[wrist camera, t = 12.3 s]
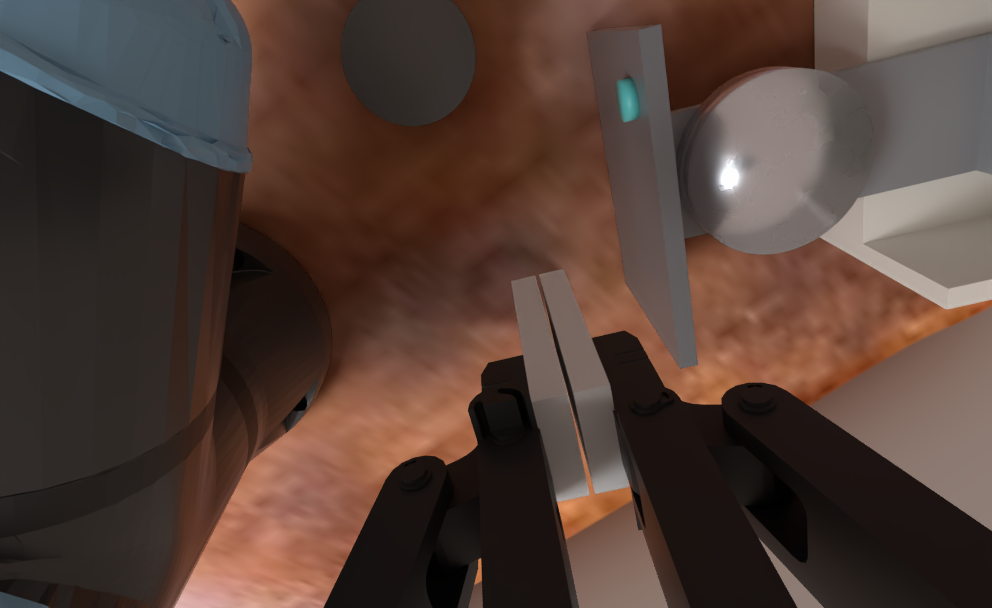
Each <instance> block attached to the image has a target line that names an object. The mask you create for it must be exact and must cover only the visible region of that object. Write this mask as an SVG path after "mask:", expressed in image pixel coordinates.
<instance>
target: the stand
mask: <svg viewBox="0 0 992 608" xmlns="http://www.w3.org/2000/svg"><path fill="white" fill-rule="evenodd" d="M341 59H342V66H343V69H344V73H345V76H346V79H347V81H348V83H349V85H350V87H351V89H352V91H353V92H354V94H355V95H356V97H357V98H358V99H359V100H360V102H361V103H362V104H363V105H364V106H365V107H366V108H367V109H369V110H370V111H371V112H372V113H374V114H375V115H377V116H378V117H380V118H382V119H384V120H386V121H388V122H391V123H394V124H398V125H403V126H421V125H427V124H430V123H433V122H436V121H438V120H440V119H442V118H444V117H445V116H447V115H448V114H450V113H451V112H452V111H453V110H454V109H455V108H456V107H457V106H458V105H459V104H460V103H461V102H462V100H463V99H464V97H465V95H466V94H467V92H468V90H469V88H470V86H471V83H472V80H473V76H474V71H475V63H476V52H475V44H474V39H473V36H472V32H471V29H470V27H469V25H468V22H467V20H466V19H465V17H464V15H463V14H462V12H461V11H460V10H459V8H458V7H457V6H456V5H455V4H454V3H453V2H452V1H451V0H359V1H358V2H357V4H356V5H355V6H354V8H353V9H352V10H351V12H350V14H349V16H348V18H347V20H346V23H345V25H344V29H343V33H342V39H341Z"/></svg>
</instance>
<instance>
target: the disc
mask: <svg viewBox="0 0 992 608" xmlns="http://www.w3.org/2000/svg"><path fill="white" fill-rule="evenodd" d="M874 146H875V142H874V129H873V123H872V120H871V117H870V114H869V111H868V109H867V107H866V105H865V103H864V101H863V100H862V98H861V97H860V96H859V94H858V93H857V92H856V91H855V90H854V89H853V88H852V87H851V86H850V85H849V84H848V83H846V82H845V81H843V80H842V79H840V78H839V77H837V76H835V75H832V74H830V73H828V72H824V71H820V70H816V69H807V68H797V67H786V66H768V67H763V68H757V69H754V70H751V71H748V72H744V73H742V74H740V75H738V76H736V77H734V78H732V79H730V80H729V81H727V82H725V83H724V84H722V85H721V86H720V87H718V88H717V89H716V90H715V91H713V92H712V93H711V94H710V95H709V96H708V97H707V98H706V99H705V100H704V101H703V102H702V103H701V105H700V106H699V107H698V109H697V110H696V111H695V112H694V114H693V116H692V117H691V119H690V120H689V122H688V124H687V126H686V128H685V130H684V132H683V134H682V137H681V140H680V143H679V146H678V151H677V155H676V167H677V176H678V186H679V195H680V199H681V201H682V203H683V205H684V207H685V209H686V211H687V212H688V213H689V215H690V216H691V217H692V219H693V220H694V221H695V222H696V223H697V224H698V225H700V226H701V227H702V228H703V229H705V230H706V231H707V232H708V233H709V234H711V235H712V236H713V237H714V238H716V239H717V240H718V241H720V242H721V243H723V244H724V245H726V246H728V247H730V248H732V249H735V250H738V251H741V252H745V253H750V254H760V255H764V254H776V253H782V252H786V251H790V250H793V249H796V248H799V247H801V246H804V245H806V244H808V243H810V242H812V241H813V240H815V239H817V238H819V237H820V236H822V235H823V234H824V233H826V232H827V231H829V230H830V229H831V228H832V227H833V226H834V225H836V224H837V223H838V222H839V221H840V220H841V219H842V218H843V217H844V216H845V215H846V213H847V212H848V211H849V210H850V208H851V207H852V206H853V204H854V203H855V201H856V200H857V198H858V197H859V195H860V193H861V192H862V190H863V187H864V185H865V183H866V181H867V178H868V176H869V173H870V170H871V166H872V161H873V157H874Z"/></svg>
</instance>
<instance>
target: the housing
mask: <svg viewBox="0 0 992 608" xmlns="http://www.w3.org/2000/svg"><path fill="white" fill-rule="evenodd" d="M991 31H992V0H814V39H815V69H816V70H820V71H824V72H830V71H834V70H838V69H842V68H846V67H850V66H854V65H858V64H862V63H866V62H871V61H875V60H879V59H883V58H887V57H891V56H895V55H899V54H903V53H907V52H911V51H915V50H919V49H923V48H927V47H931V46H935V45H939V44H943V43H947V42H951V41H955V40H959V39H963V38H967V37H971V36H975V35H979V34H983V33H987V32H991ZM820 238H822V239H824V240H825V241H827V242H829V243H831V244H832V245H834V246H836V247H838V248H839V249H841V250H843V251H845V252H846V253H848V254H850V255H852V256H853V257H855V258H857V259H859V260H860V261H862V262H864V263H866V264H867V265H869V266H871V267H873V268H874V269H876V270H878V271H880V272H881V273H883V274H885V275H887V276H888V277H890V278H892V279H894V280H895V281H897V282H899V283H901V284H902V285H904V286H906V287H908V288H909V289H911V290H913V291H915V292H916V293H918V294H920V295H922V296H923V297H925V298H927V299H929V300H930V301H932V302H934V303H936V304H937V305H939V306H941V307H943V308H944V309H946V310H947V309H951V308H956V307H960V306H965V305H969V304H974V303H978V302H983V301H987V300H992V174H988V173H984V172H980V171H976V170H975V171H971V172H967V173H963V174H958V175H954V176H950V177H946V178H941V179H937V180H933V181H929V182H924V183H920V184H916V185H912V186H907V187H903V188H899V189H895V190H890V191H886V192H882V193H878V194H873V195H869V196H865V197H861V198H857V200H856V201H855V203H854V204H853V206H852V207H851V208H850V210H849V211H848V212H847V213H846V215H845V216H844V217H843V218H842V219H841V220H840V221H839V222H838V223H837V224H836V225H834V226H833V227H832V228H831V229H830V230H829V231H827V232H826V233H824V234H823V235H822V236H820Z"/></svg>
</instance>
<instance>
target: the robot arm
mask: <svg viewBox="0 0 992 608" xmlns="http://www.w3.org/2000/svg"><path fill="white" fill-rule="evenodd" d="M251 70H252V47H251V41H250V36H249V33H248V30H247V27H246V24H245V22H244V20H243V18H242V16H241V14H240V12H239V11H238V9H237V8H236V6H235V5H234V3H233V2H232V1H231V0H0V608H174V607H175V605H176V603H177V601H178V599H179V597H180V595H181V593H182V591H183V589H184V588H185V586H186V584H187V582H188V580H189V578H190V576H191V574H192V572H193V570H194V568H195V566H196V564H197V562H198V560H199V558H200V556H201V555H202V553H203V551H204V549H205V547H206V545H207V543H208V541H209V539H210V537H211V535H212V533H213V531H214V529H215V527H216V525H217V524H218V522H219V520H220V518H221V516H222V514H223V512H224V510H225V508H226V506H227V504H228V502H229V500H230V498H231V496H232V494H233V492H234V491H235V489H236V487H237V485H238V483H239V481H240V479H241V477H242V474H243V472H244V471H245V469H246V467H247V465H248V463H249V462H250V461H251V460H252V459H254V458H255V457H256V456H258V455H259V454H260V453H261V452H263V451H264V450H265V449H266V448H268V447H269V446H270V445H272V444H273V443H274V442H275V441H277V440H278V439H279V438H280V437H282V436H283V435H284V434H285V433H287V432H288V431H289V430H290V429H291V428H293V427H294V426H295V425H296V424H297V423H298V422H299V421H300V420H301V419H302V417H303V416H304V415H305V414H306V413H307V411H308V410H309V408H310V407H311V405H312V404H313V402H314V400H315V399H316V397H317V394H318V392H319V390H320V388H321V385H322V383H323V381H324V378H325V376H326V373H327V371H328V367H329V364H330V359H331V352H332V334H331V326H330V321H329V317H328V313H327V310H326V308H325V305H324V302H323V300H322V298H321V296H320V294H319V292H318V290H317V288H316V287H315V285H314V283H313V282H312V280H311V279H310V277H309V276H308V275H307V273H306V272H305V271H304V270H303V269H302V267H301V266H300V265H299V264H298V263H297V262H296V261H295V260H294V259H293V258H292V257H291V256H290V255H289V254H288V253H287V252H286V251H285V250H283V249H282V248H281V247H280V246H278V245H277V244H276V243H274V242H273V241H271V240H270V239H269V238H267V237H265V236H264V235H262V234H260V233H259V232H257V231H255V230H253V229H251V228H249V227H247V226H245V225H242V224H240V223H239V217H240V210H241V202H242V195H243V187H244V180H245V173H247V172H250V171H251V168H252V163H253V160H252V153H251V151H250V150H249V148H248V147H247V142H248V118H249V97H250V84H251ZM539 276H540V281H541V285H542V290H543V294H544V299H545V303H546V308H547V312H548V317H549V321H550V326H551V330H552V335H553V339H554V343H553V339H552V335H551V332H550V328H549V324H548V321H547V317H546V313H545V310H544V306H543V302H542V299H541V295H540V291H539V288H538V284H537V280H536V277H535V276H530V277H526V278H522V279H518V280H513V281H511V285H512V291H513V297H514V303H515V309H516V315H517V321H518V327H519V333H520V339H521V345H522V351H523V355H521V356H516V357H512V358H508V359H503V360H499V361H494V362H490V363H488V364H487V366H486V368H485V369H484V371H483V373H482V374H481V385H482V392H481V393H480V394H478V395H477V396H476V397H475V398H474V399H473V400H472V401H471V402H470V405H469V408H468V412H469V415H470V419H471V422H472V425H473V428H474V432H475V435H476V438H477V441H478V445H477V446H476V448H475V449H474V450H473V451H471V452H470V453H469V454H468V455H466V456H464V457H463V458H461V459H459V460H457V461H455V462H453V463H450V464H448V465H445V463H444V461H443V460H441V459H439V458H437V457H435V456H420V457H415V458H412V459H410V460H408V461H405V462H403V463H401V464H400V465H399V466H398V467H396V468H395V469H394V470H392V472H391V473H390V475H389V476H388V477H387V479H386V480H385V483H384V485H383V487H382V489H381V491H380V493H379V495H378V497H377V499H376V501H375V503H374V505H373V507H372V509H371V511H370V513H369V515H368V517H367V520H366V522H365V524H364V526H363V528H362V530H361V532H360V534H359V536H358V538H357V540H356V542H355V544H354V546H353V548H352V550H351V552H350V554H349V556H348V559H347V561H346V563H345V565H344V567H343V569H342V571H341V573H340V575H339V577H338V579H337V581H336V583H335V585H334V587H333V589H332V591H331V593H330V595H329V598H328V600H327V602H326V604H325V606H324V608H468V606H469V602H470V598H471V594H472V590H473V586H474V582H475V578H476V574H477V570H478V559H479V558H481V563H482V592H483V593H482V594H483V608H579V605H578V601H577V595H576V590H575V585H574V580H573V575H572V570H571V565H570V561H569V555H568V550H567V545H566V540H565V535H564V530H563V526H562V521H561V516H560V512H559V508H558V505H557V502H559V501H564V500H569V499H573V498H578V497H583V496H588V495H590V494H589V489H588V485H587V480H586V476H585V471H584V467H583V462H582V458H581V453H580V449H579V444H578V440H577V435H576V431H575V426H574V422H573V417H572V413H571V408H570V404H571V407H572V411H573V415H574V418H575V422H576V426H577V429H578V433H579V437H580V440H581V444H582V448H583V451H584V455H585V458H586V462H587V466H588V469H589V473H590V477H591V480H592V484H593V488H594V491H595V494H597V493H602V492H607V491H611V490H616V489H621V488H626V487H629V485H628V480H629V483H630V487H631V492H632V498H633V503H634V509H635V514H636V519H637V525H638V529H639V530H643V533H644V536H645V539H646V542H647V545H648V548H649V551H650V554H651V557H652V560H653V563H654V566H655V569H656V572H657V575H658V578H659V581H660V584H661V587H662V590H663V593H664V596H665V599H666V602H667V605H668V608H797V607H796V604H795V603H794V601H793V599H792V597H791V595H790V594H789V592H788V590H787V588H786V587H785V585H784V583H783V581H782V579H781V578H780V576H779V574H778V573H777V570H776V569H775V567H774V565H773V563H772V562H771V560H770V558H769V556H768V555H767V553H766V551H765V549H764V547H763V546H762V544H761V542H760V540H761V541H762V542H763V543H764V544H765V545H766V546H767V547H768V548H769V549H770V550H771V551H772V552H773V554H774V555H775V556H776V557H777V558H778V559H779V560H780V561H781V562H782V563H783V564H784V565H785V566H786V567H787V568H788V570H789V571H790V572H791V573H792V574H793V575H794V576H795V577H796V578H797V579H798V580H799V581H800V582H801V583H802V584H803V586H804V587H805V588H806V589H807V590H808V591H809V592H810V593H811V594H812V595H813V596H814V597H815V598H816V599H817V600H818V602H819V603H820V604H821V605H822V606H823V607H824V608H992V531H991V530H989V529H988V528H987V527H985V526H984V525H982V524H981V523H979V522H978V521H976V520H975V519H973V518H972V517H970V516H969V515H967V514H966V513H965V512H963V511H962V510H960V509H959V508H957V507H956V506H954V505H953V504H951V503H950V502H948V501H947V500H945V499H944V498H943V497H941V496H940V495H938V494H937V493H935V492H934V491H932V490H931V489H929V488H928V487H926V486H925V485H924V484H922V483H921V482H919V481H918V480H916V479H915V478H913V477H912V476H910V475H909V474H908V473H906V472H905V471H903V470H902V469H900V468H899V467H897V466H896V465H894V464H893V463H891V462H890V461H888V460H887V459H886V458H884V457H882V456H881V455H880V454H878V453H877V452H875V451H874V450H872V449H871V448H870V447H868V446H867V445H865V444H864V443H862V442H861V441H859V440H858V439H856V438H855V437H853V436H852V435H850V434H849V433H847V432H846V431H845V430H843V429H842V428H840V427H839V426H837V425H836V424H834V423H833V422H831V421H830V420H829V419H827V418H826V417H824V416H822V415H821V414H820V413H818V412H817V411H815V410H814V409H812V408H811V407H810V406H808V405H807V404H805V403H804V402H802V401H801V400H799V399H798V398H796V397H795V396H793V395H792V394H791V393H789V392H788V391H786V390H784V389H782V388H780V387H778V386H776V385H771V384H766V383H746V384H741V385H737V386H735V387H733V388H731V389H729V390H728V391H726V393H725V394H724V395H723V397H722V405H701V404H691V403H687V402H683V401H681V399H680V398H679V396H678V395H677V394H676V393H675V392H674V391H672V390H670V389H668V388H665V386H664V385H663V383H662V381H661V379H660V377H659V376H658V374H657V372H656V370H655V368H654V367H653V365H652V363H651V361H650V359H648V356H647V354H646V352H645V351H644V349H643V347H642V345H641V343H640V342H639V340H638V338H637V337H635V336H633V335H631V334H630V333H628V332H626V331H620V332H616V333H612V334H607V335H603V336H598V337H594V338H591V336H590V333H589V331H588V328H587V326H586V323H585V321H584V319H583V316H582V314H581V311H580V309H579V306H578V304H577V301H576V299H575V296H574V294H573V291H572V289H571V286H570V284H569V281H568V279H567V276H566V274H565V271H564V269H560V270H556V271H552V272H548V273H543V274H539ZM554 344H555V347H554ZM555 348H556V350H555ZM556 352H557V354H556ZM557 356H558V358H557ZM558 360H559V361H558ZM559 363H560V365H559ZM560 367H561V369H560ZM561 371H562V372H561ZM562 374H563V376H562ZM563 378H564V380H563ZM564 382H565V383H564ZM565 385H566V387H565ZM566 389H567V391H566ZM567 393H568V394H567ZM568 396H569V399H568ZM569 400H570V403H569ZM627 477H628V479H627ZM757 536H758V537H757ZM759 539H760V540H759Z"/></svg>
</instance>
